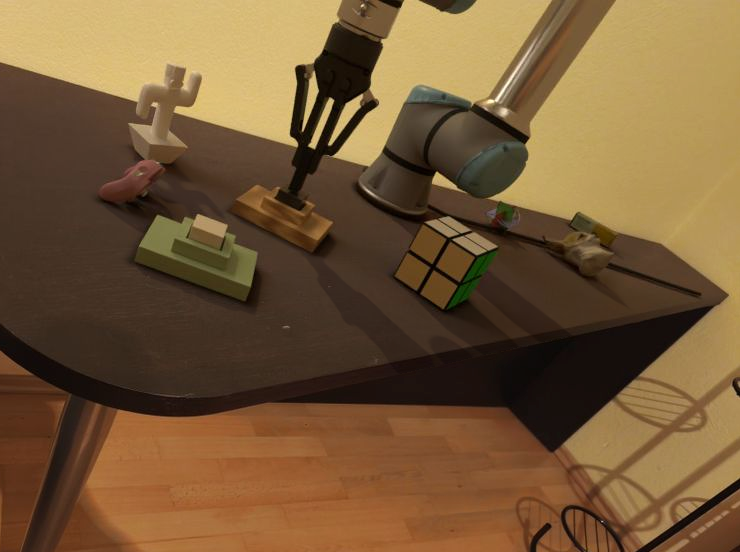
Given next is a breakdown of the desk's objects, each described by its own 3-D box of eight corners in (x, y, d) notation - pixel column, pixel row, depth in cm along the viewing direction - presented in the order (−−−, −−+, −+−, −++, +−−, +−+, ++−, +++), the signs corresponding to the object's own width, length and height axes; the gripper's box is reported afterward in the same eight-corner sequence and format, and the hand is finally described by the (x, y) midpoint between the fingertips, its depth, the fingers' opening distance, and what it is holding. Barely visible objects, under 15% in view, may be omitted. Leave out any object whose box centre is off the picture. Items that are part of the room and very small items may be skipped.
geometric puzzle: (500, 230, 137) (527, 204, 137) (476, 213, 140) (502, 188, 140) (502, 246, 143) (527, 222, 143) (479, 230, 147) (504, 206, 146)
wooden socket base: (327, 234, 105) (337, 212, 103) (312, 253, 97) (322, 230, 95) (252, 196, 106) (261, 174, 104) (231, 212, 98) (239, 188, 96)
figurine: (116, 143, 103) (138, 48, 95) (165, 148, 109) (190, 60, 101) (137, 165, 99) (162, 68, 91) (187, 168, 105) (215, 78, 97)
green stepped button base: (252, 266, 86) (263, 240, 84) (244, 302, 78) (256, 274, 75) (153, 229, 84) (161, 202, 82) (134, 261, 76) (142, 232, 74)
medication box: (567, 225, 175) (575, 212, 172) (571, 223, 176) (579, 210, 174) (607, 247, 169) (616, 234, 167) (610, 246, 171) (619, 233, 169)
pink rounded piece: (118, 220, 86) (152, 187, 83) (94, 194, 85) (126, 160, 81) (145, 198, 94) (176, 168, 91) (122, 174, 93) (153, 142, 90)
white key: (223, 239, 81) (228, 225, 80) (218, 252, 78) (223, 237, 76) (193, 227, 80) (197, 213, 79) (187, 240, 77) (192, 225, 76)
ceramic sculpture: (603, 243, 132) (554, 212, 143) (580, 279, 136) (533, 246, 147) (633, 250, 137) (583, 220, 148) (609, 285, 142) (562, 252, 152)
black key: (304, 205, 101) (309, 194, 100) (297, 212, 98) (302, 200, 97) (281, 194, 101) (286, 183, 100) (274, 200, 98) (278, 188, 97)
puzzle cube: (418, 266, 108) (447, 214, 103) (467, 299, 105) (500, 247, 99) (391, 276, 101) (422, 221, 95) (443, 312, 97) (478, 256, 92)
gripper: (309, 10, 83) (249, 175, 96) (399, 53, 82) (326, 214, 94) (323, 11, 89) (264, 166, 102) (407, 50, 88) (337, 202, 101)
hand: (294, 189), depth 98 cm, fingers closed
